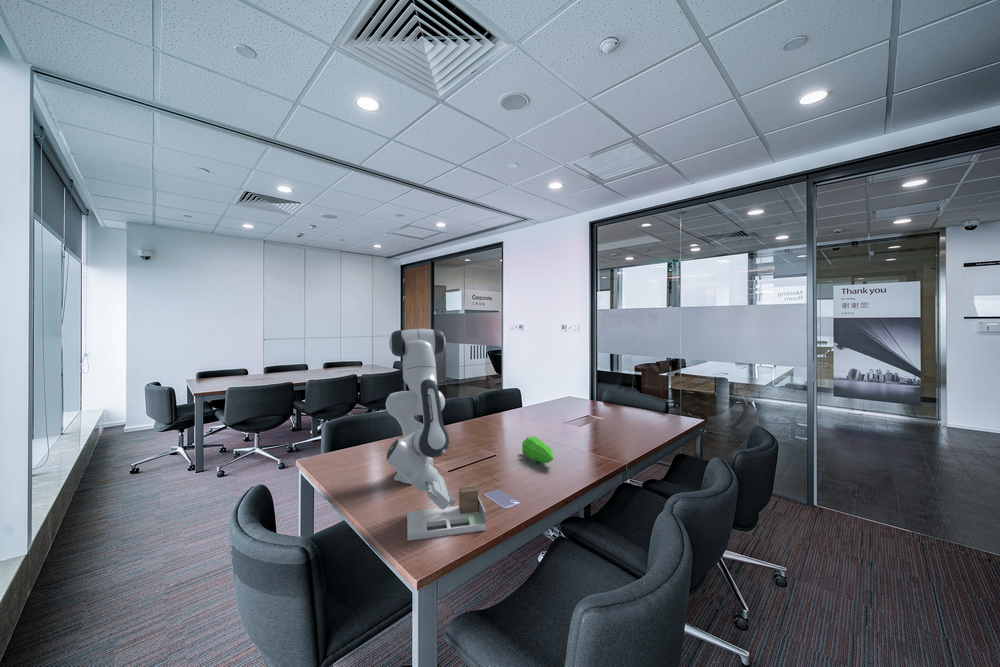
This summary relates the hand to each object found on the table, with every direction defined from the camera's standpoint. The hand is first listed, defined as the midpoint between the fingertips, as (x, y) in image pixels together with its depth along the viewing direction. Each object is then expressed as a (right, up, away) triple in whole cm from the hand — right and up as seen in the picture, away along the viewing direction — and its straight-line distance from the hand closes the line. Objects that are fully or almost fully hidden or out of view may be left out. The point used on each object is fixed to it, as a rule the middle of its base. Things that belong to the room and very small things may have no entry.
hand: (453, 502), depth 131 cm
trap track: (-2, -5, -5) cm, 7 cm away
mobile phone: (+17, -6, +14) cm, 23 cm away
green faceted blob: (+35, -5, +56) cm, 66 cm away
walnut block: (+5, -3, +1) cm, 6 cm away
